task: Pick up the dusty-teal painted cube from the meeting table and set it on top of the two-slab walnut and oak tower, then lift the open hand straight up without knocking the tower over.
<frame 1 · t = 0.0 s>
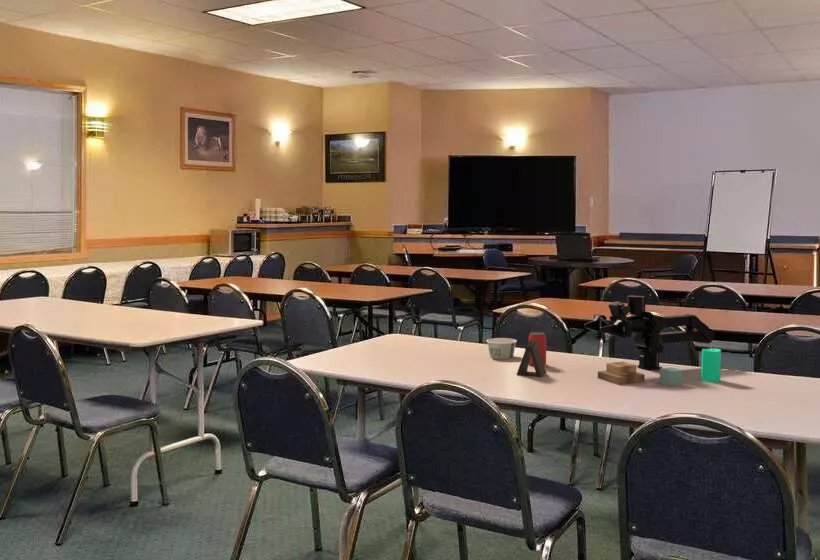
hand: (592, 327, 276), 17 cm above the table, tool horizontal, fingers open, 9 cm apart
food container: (501, 357, 311), on the table
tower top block: (621, 372, 267), point 2 cm above the table, touching tower base block
beer can: (537, 365, 294), on the table
candle: (710, 380, 266), on the table
teal cube: (670, 384, 261), on the table
dark grey a-shaped piece: (531, 375, 277), on the table
tower base block: (620, 381, 268), on the table, touching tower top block
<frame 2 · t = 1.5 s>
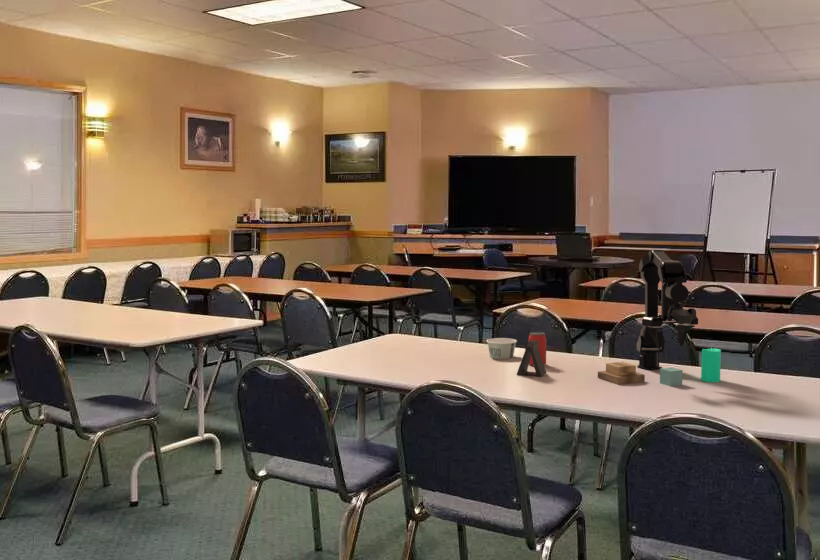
hand: (669, 346, 260), 12 cm above the table, tool pointing down, fingers open, 9 cm apart
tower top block: (620, 373, 267), point 2 cm above the table
tower base block: (620, 381, 268), on the table
everything else where it was.
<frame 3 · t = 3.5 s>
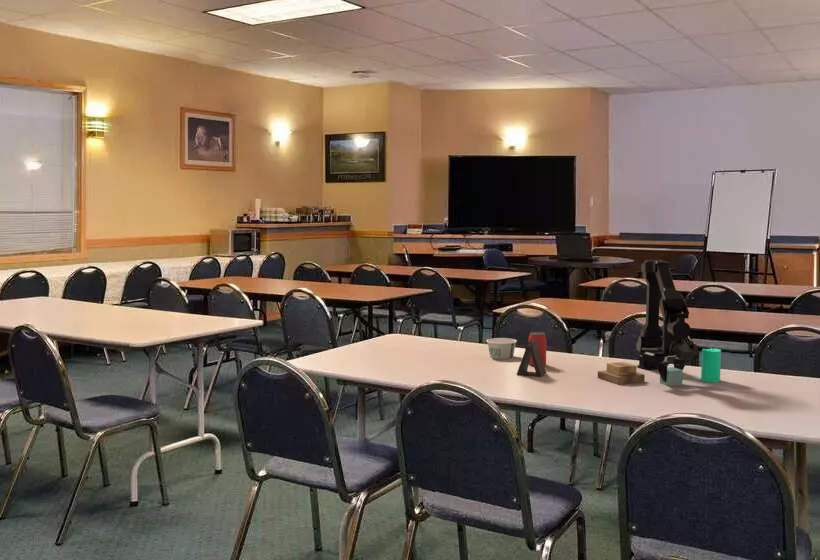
hand: (670, 380, 261), 1 cm above the table, tool pointing down, fingers closed on teal cube, 5 cm apart
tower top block: (621, 373, 267), point 2 cm above the table, touching tower base block
teal cube: (670, 384, 261), on the table, touching gripper
tower base block: (620, 381, 268), on the table, touching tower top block
everything else where it was.
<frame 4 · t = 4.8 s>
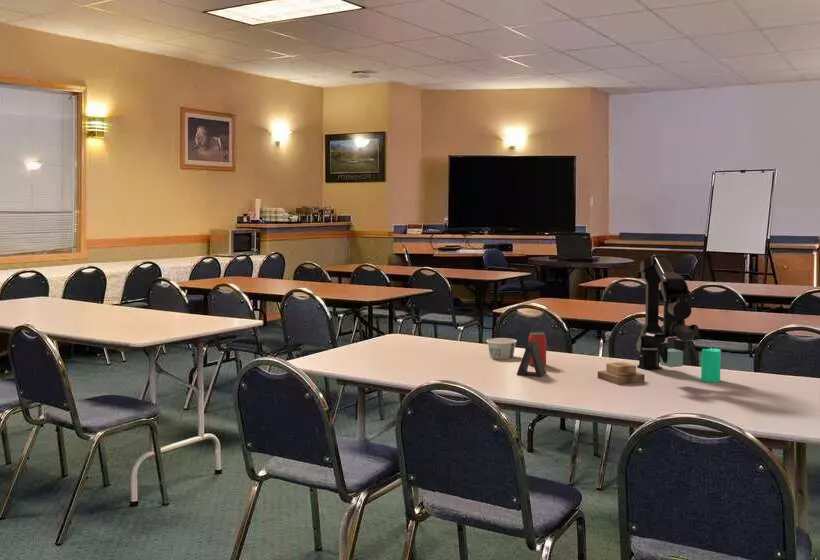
hand: (671, 362, 260), 7 cm above the table, tool pointing down, fingers closed on teal cube, 5 cm apart
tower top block: (621, 373, 267), point 2 cm above the table
teal cube: (671, 365, 260), point 6 cm above the table, touching gripper
tower base block: (620, 381, 268), on the table
everything else where it was.
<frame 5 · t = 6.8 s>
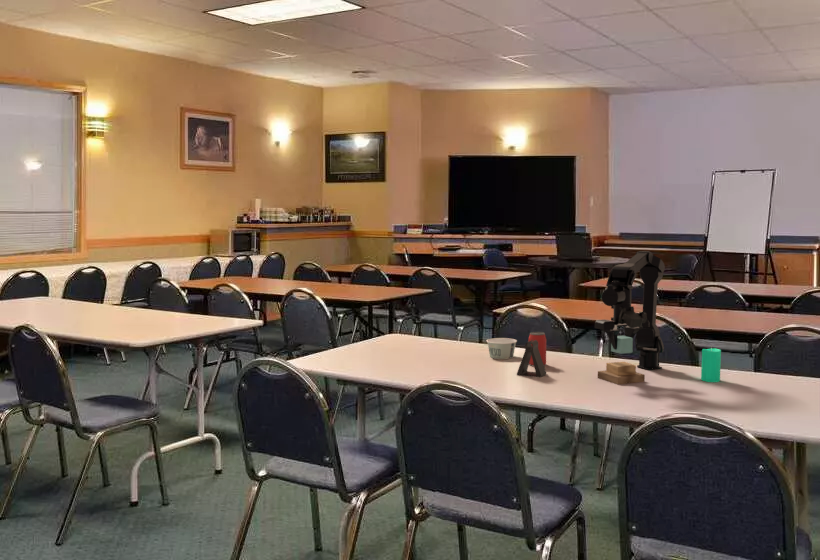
hand: (621, 348, 267), 11 cm above the table, tool pointing down, fingers closed on teal cube, 5 cm apart
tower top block: (620, 372, 267), point 2 cm above the table, touching tower base block
teal cube: (621, 351, 267), point 10 cm above the table, touching gripper
tower base block: (620, 381, 268), on the table, touching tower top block
everything else where it was.
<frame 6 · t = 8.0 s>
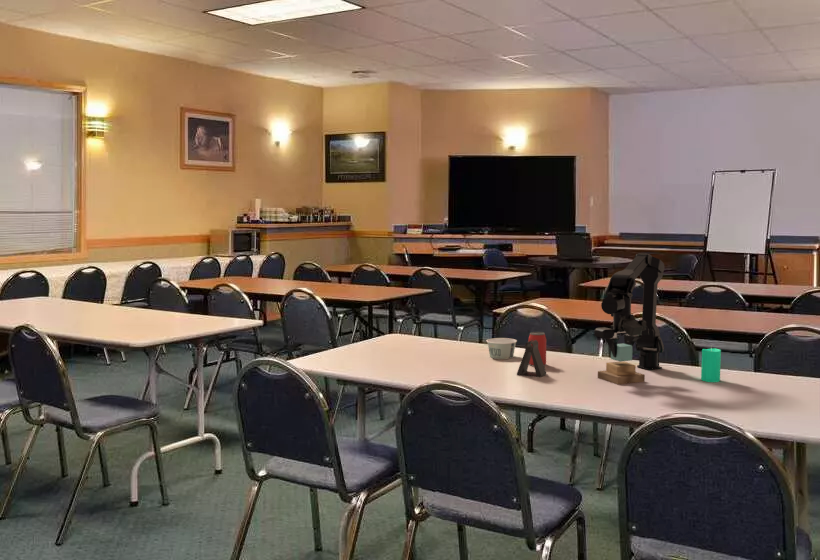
hand: (621, 356, 267), 8 cm above the table, tool pointing down, fingers closed on teal cube, 5 cm apart
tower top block: (620, 372, 268), point 2 cm above the table
teal cube: (621, 359, 267), point 7 cm above the table, touching gripper
tower base block: (620, 381, 268), on the table
everything else where it was.
when the fingers open (8 cm above the table, at t = 8.1 s): teal cube drops 2 cm, resting on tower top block.
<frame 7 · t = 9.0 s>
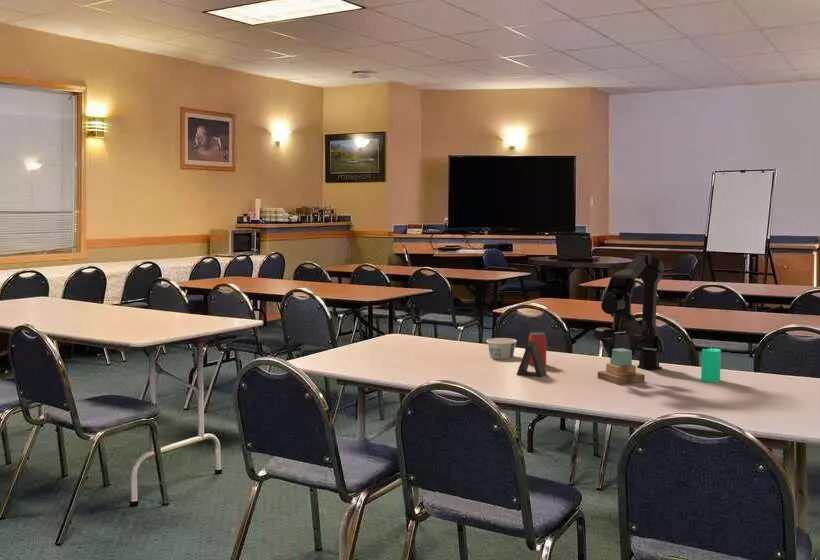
hand: (621, 356, 267), 8 cm above the table, tool pointing down, fingers open, 9 cm apart
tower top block: (620, 373, 267), point 2 cm above the table, touching teal cube, tower base block
teal cube: (620, 364, 267), point 5 cm above the table, touching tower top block
tower base block: (620, 381, 268), on the table, touching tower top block
everything else where it was.
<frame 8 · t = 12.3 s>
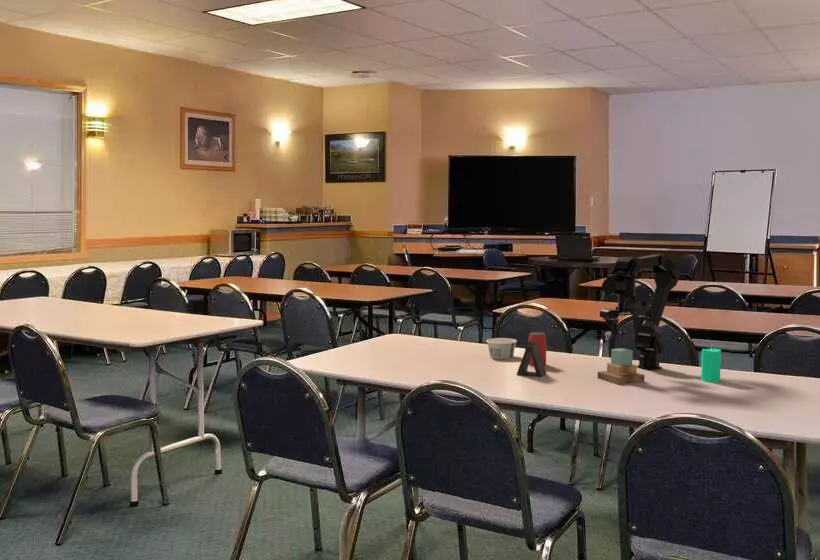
hand: (625, 336, 277), 13 cm above the table, tool pointing down, fingers open, 9 cm apart
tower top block: (621, 373, 268), point 2 cm above the table, touching teal cube
tower base block: (620, 382, 268), on the table
everything else where it was.
at the end: teal cube 0.1 cm off-centre on the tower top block, point 3.0 cm above the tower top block's base; teal cube tilted 1°; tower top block point 2.2 cm above the table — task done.
